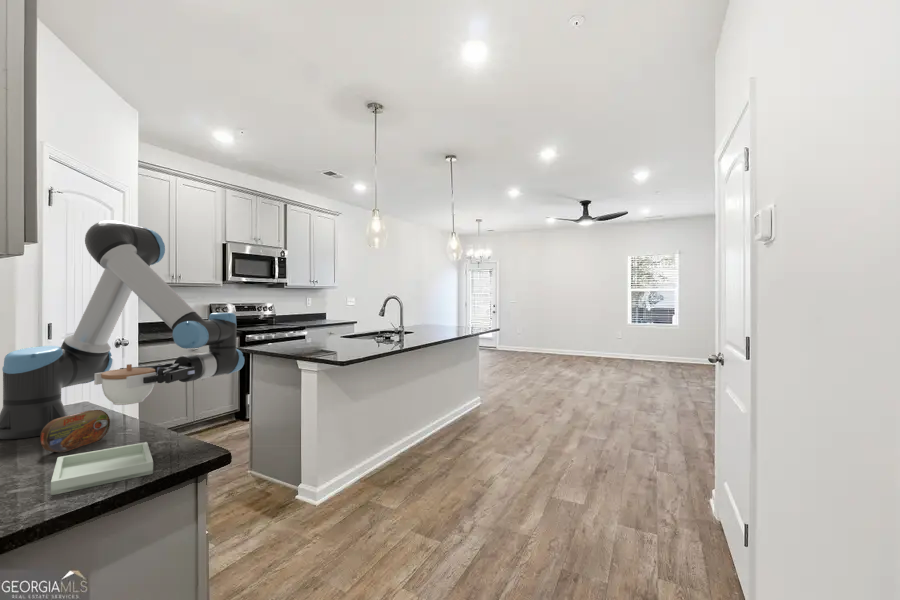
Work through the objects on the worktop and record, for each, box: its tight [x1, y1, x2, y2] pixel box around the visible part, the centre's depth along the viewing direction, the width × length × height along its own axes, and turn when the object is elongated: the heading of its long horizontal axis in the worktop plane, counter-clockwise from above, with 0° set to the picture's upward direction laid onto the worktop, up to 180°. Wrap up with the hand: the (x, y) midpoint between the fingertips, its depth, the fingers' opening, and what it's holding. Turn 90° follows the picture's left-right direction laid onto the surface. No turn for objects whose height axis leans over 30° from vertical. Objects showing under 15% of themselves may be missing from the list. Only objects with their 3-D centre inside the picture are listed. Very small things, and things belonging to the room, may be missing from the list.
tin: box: [39, 409, 111, 453], centre depth 106 cm, size 15×3×8 cm, turn 168°
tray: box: [50, 441, 154, 496], centre depth 90 cm, size 16×16×3 cm
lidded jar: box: [101, 363, 155, 406], centre depth 103 cm, size 11×11×9 cm
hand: (111, 380), depth 99 cm, fingers closed on lidded jar, 11 cm apart
